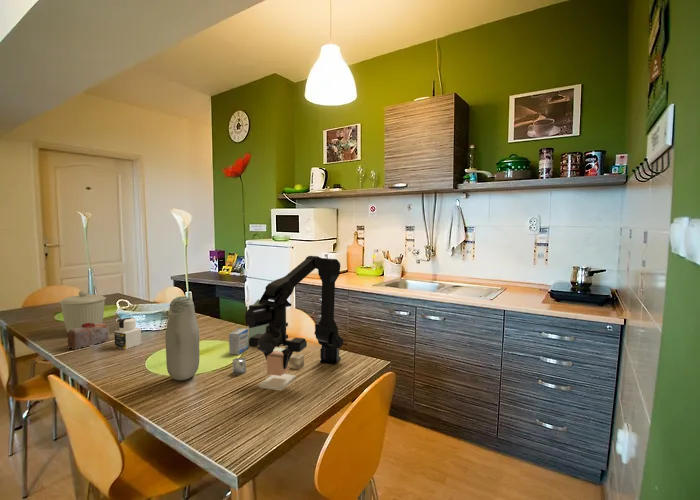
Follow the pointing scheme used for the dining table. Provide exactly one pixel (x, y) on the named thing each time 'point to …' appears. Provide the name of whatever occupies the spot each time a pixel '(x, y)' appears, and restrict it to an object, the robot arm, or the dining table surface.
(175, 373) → the grey squeeze bottle
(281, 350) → the sage block
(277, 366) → the coral block
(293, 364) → the birch block
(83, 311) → the canister
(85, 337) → the food item
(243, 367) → the grey metal cylinder
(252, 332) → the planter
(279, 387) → the grey mat
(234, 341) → the medicine box
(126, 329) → the medicine bottle
